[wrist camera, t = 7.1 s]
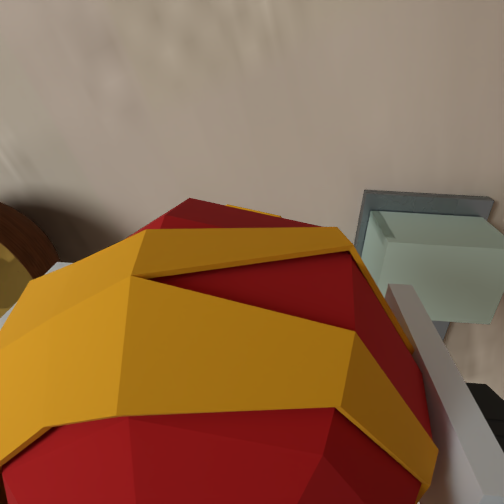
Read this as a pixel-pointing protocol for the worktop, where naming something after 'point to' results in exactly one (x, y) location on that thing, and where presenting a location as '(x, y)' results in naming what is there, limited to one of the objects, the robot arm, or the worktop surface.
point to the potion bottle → (212, 372)
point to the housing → (439, 262)
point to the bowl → (21, 255)
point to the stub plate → (421, 205)
